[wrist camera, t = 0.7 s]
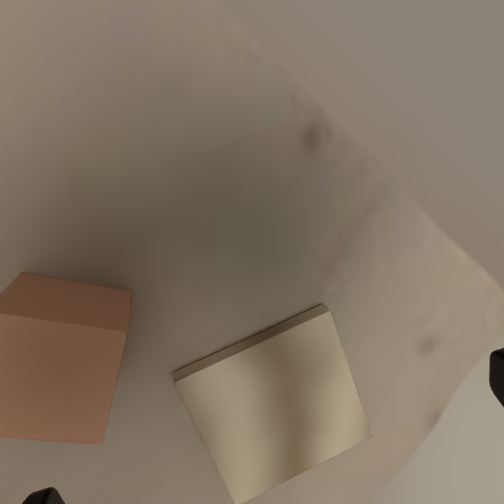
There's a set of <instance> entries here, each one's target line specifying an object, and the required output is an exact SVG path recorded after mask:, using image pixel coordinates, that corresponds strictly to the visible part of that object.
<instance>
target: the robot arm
mask: <svg viewBox="0 0 504 504" xmlns="http://www.w3.org/2000/svg"><path fill="white" fill-rule="evenodd" d="M489 382H490V387H491V389H492V391H493V393H494V395H495V396H496V397H497V399H498V400H499V402H500V403H501V404H502V405H503V407H504V348H502V349H499V350H495V351H493V352H492V353H491V355H490V372H489ZM22 504H65V503H64V501H63V499H62V498H61V496H60V494H59V493H58V491H57V490H56V489H55V488H53V487H49V488H46V489H43V490H40V491H36V492H33V493H32V494H30V495H29V496H28V497H27V498H26V499H25V501H24V502H23V503H22Z"/></svg>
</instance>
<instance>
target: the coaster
mask: <svg viewBox="0 0 504 504" xmlns="http://www.w3.org/2000/svg"><path fill="white" fill-rule="evenodd" d="M173 379H174V384H175V386H176V388H177V390H178V392H179V394H180V396H181V398H182V400H183V402H184V404H185V406H186V408H187V410H188V412H189V414H190V416H191V418H192V420H193V422H194V424H195V426H196V428H197V430H198V432H199V434H200V436H201V438H202V440H203V442H204V444H205V446H206V448H207V450H208V452H209V454H210V456H211V458H212V460H213V462H214V464H215V466H216V468H217V470H218V472H219V474H220V476H221V478H222V480H223V482H224V484H225V486H226V488H227V490H228V492H229V494H230V496H231V498H232V500H233V502H234V504H242V503H244V502H246V501H248V500H249V499H251V498H253V497H255V496H257V495H259V494H261V493H263V492H265V491H267V490H269V489H271V488H273V487H275V486H277V485H279V484H281V483H283V482H285V481H287V480H288V479H290V478H292V477H294V476H296V475H298V474H300V473H302V472H304V471H306V470H308V469H310V468H312V467H314V466H316V465H318V464H320V463H322V462H324V461H326V460H327V459H329V458H331V457H333V456H335V455H337V454H339V453H341V452H343V451H345V450H347V449H349V448H351V447H353V446H355V445H357V444H359V443H361V442H363V441H365V440H366V439H368V438H370V437H372V435H371V432H370V429H369V426H368V423H367V420H366V417H365V414H364V411H363V408H362V405H361V402H360V399H359V396H358V393H357V390H356V387H355V384H354V381H353V378H352V375H351V372H350V369H349V366H348V363H347V360H346V357H345V354H344V351H343V348H342V345H341V342H340V339H339V336H338V333H337V330H336V327H335V324H334V321H333V318H332V315H331V312H330V310H329V309H328V308H327V307H326V306H324V305H323V304H322V305H320V306H317V307H315V308H313V309H311V310H309V311H306V312H304V313H302V314H300V315H298V316H296V317H293V318H291V319H289V320H287V321H285V322H283V323H280V324H278V325H276V326H274V327H272V328H269V329H267V330H265V331H263V332H261V333H259V334H256V335H254V336H252V337H250V338H248V339H245V340H243V341H241V342H239V343H237V344H235V345H232V346H230V347H228V348H226V349H224V350H221V351H219V352H217V353H215V354H213V355H211V356H208V357H206V358H204V359H202V360H200V361H198V362H195V363H193V364H191V365H189V366H187V367H184V368H182V369H180V370H178V371H176V372H174V373H173Z"/></svg>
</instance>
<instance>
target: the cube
mask: <svg viewBox="0 0 504 504" xmlns="http://www.w3.org/2000/svg"><path fill="white" fill-rule="evenodd" d="M131 298H132V291H128V290H123V289H117V288H111V287H106V286H100V285H94V284H89V283H83V282H77V281H72V280H66V279H60V278H54V277H49V276H43V275H37V274H32V273H26V272H22V273H21V274H20V275H19V276H18V277H17V278H16V279H15V280H14V281H13V282H12V283H11V284H10V285H9V286H8V287H7V288H6V289H5V290H4V291H3V292H2V293H1V294H0V437H6V438H19V439H33V440H47V441H60V442H74V443H87V444H101V445H102V443H103V438H104V434H105V430H106V425H107V421H108V416H109V412H110V408H111V403H112V399H113V394H114V390H115V386H116V381H117V377H118V373H119V368H120V364H121V359H122V355H123V351H124V346H125V342H126V338H127V333H128V325H129V316H130V307H131Z"/></svg>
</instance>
